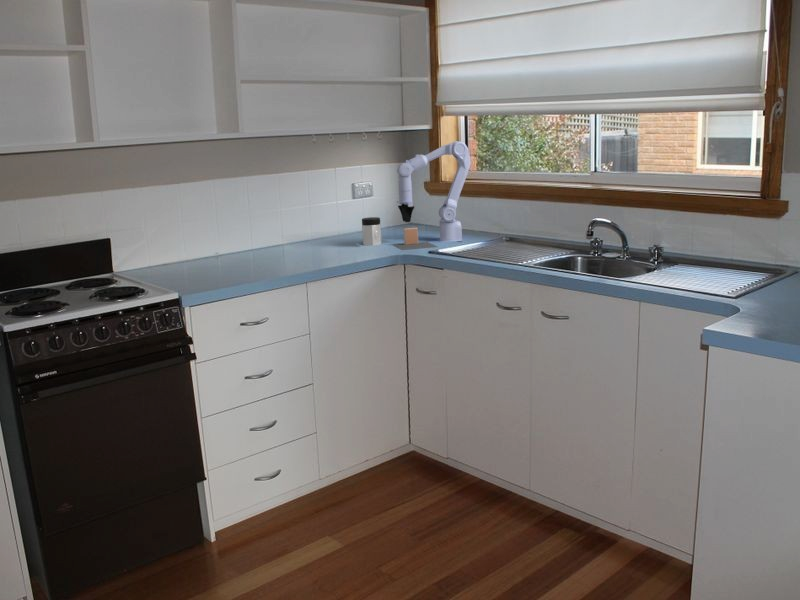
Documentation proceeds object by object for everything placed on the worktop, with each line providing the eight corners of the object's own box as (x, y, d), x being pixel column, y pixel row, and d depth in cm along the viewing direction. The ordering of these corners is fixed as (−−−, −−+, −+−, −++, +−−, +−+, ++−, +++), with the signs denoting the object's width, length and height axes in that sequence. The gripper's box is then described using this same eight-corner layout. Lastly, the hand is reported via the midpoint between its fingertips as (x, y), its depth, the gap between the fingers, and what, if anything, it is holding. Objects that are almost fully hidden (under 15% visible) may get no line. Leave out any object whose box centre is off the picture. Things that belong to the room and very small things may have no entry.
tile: (417, 243, 354) (416, 227, 352) (418, 243, 352) (417, 227, 351) (404, 244, 352) (403, 228, 351) (405, 245, 351) (404, 229, 349)
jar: (369, 247, 353) (367, 220, 350) (358, 245, 359) (357, 218, 357) (385, 244, 358) (384, 217, 355) (375, 243, 364) (374, 216, 362)
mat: (426, 243, 357) (426, 241, 357) (438, 248, 342) (438, 246, 342) (392, 246, 353) (392, 244, 353) (402, 251, 338) (402, 250, 338)
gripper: (392, 190, 358) (393, 220, 361) (401, 192, 345) (402, 224, 348) (407, 189, 360) (408, 219, 363) (416, 191, 346) (418, 222, 349)
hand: (406, 221), depth 355 cm, fingers open, 3 cm apart
